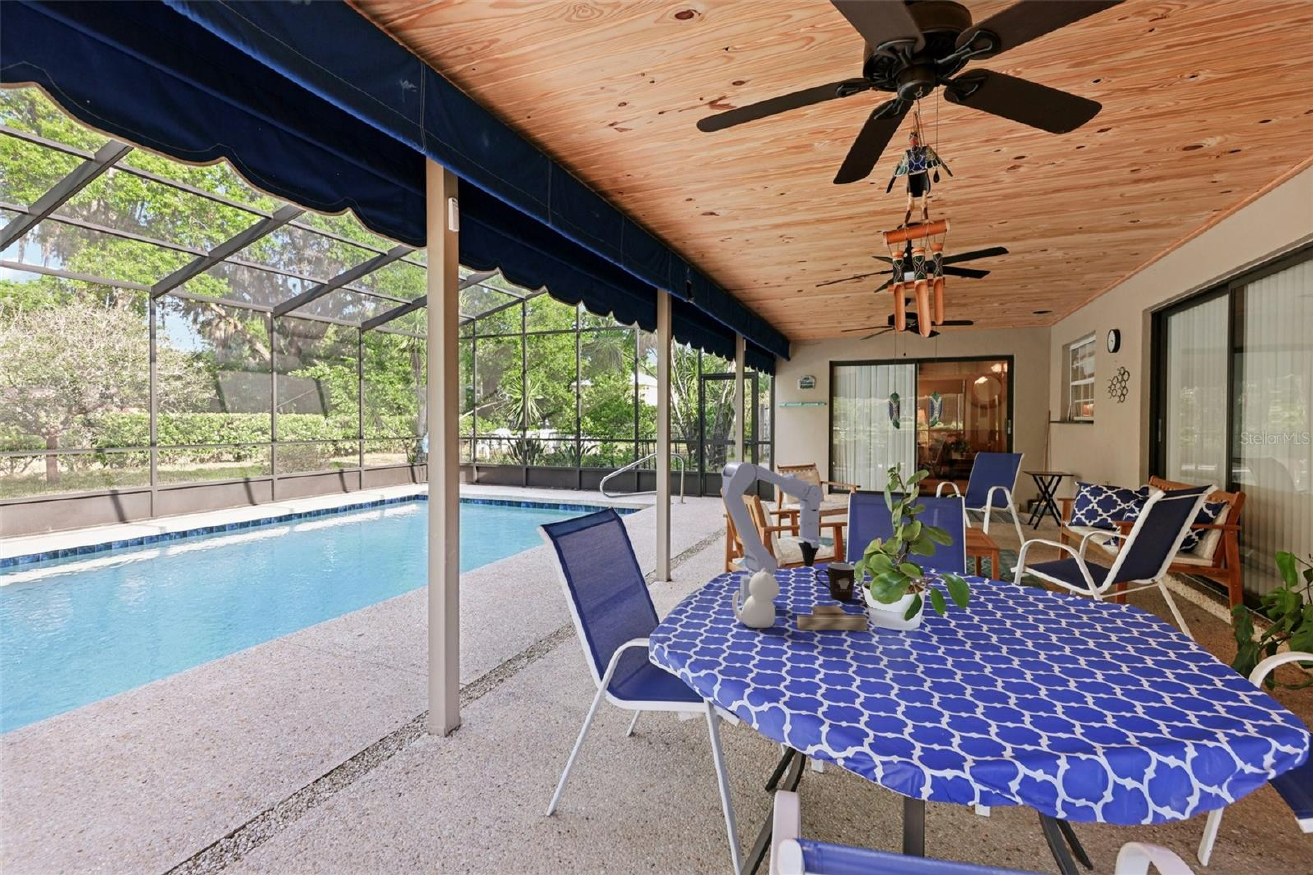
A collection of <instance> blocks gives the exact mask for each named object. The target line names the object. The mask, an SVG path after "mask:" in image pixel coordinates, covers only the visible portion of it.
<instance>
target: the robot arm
mask: <svg viewBox="0 0 1313 875" xmlns="http://www.w3.org/2000/svg"><path fill="white" fill-rule="evenodd" d="M720 475H721V478H722V485H721V486H722V487H721V488H722V490H721V495H722V500H723V501H724V503H725V506H726V508H727V510H728V513H729V515H730V518H731V519H732V522H733V524H734V526H735V529H736V531H737V533H738V536H739V538H740V540H741V542H742V544H743V547H744V549H743V551H742V552H743V555H744V563H745V564H744V565H745V567H746V568H747V570H748V571H747V573H748V574H742V575H740V580H739V582H740V585H739V586H740V587H739V588H740V589H739V590H740V591H739V602H740V603H741V605H742V607H743V606H744V604H745V602H746V600H747V599H748V598H749V597H750V596H751V594H750V591H749V583H750V580H751V578H752V576H753V575H754V574H756V573H758V572H760V571H761V570H762V569H763V568H766V572H767V573H769V574H771V575H772V576H773V577H774V574H775V573H776V572H777V570H778V563H777V562H778V561H777V559H776V558H775V557H773V556H772V555H771V554H770V551H769V549H768V548H767V547H766V546H765V545H764V544H763V541H762V540H761V538H760V535H759V533H758V531H757V529H756V527H755V524H754V522H753V519H752V517H751V515H750V513H749V510H748V508H747V506H746V504H745V501H744V498H743V495H744V493H745V491H746V490H747V489H748V488H749V487H750V486H751V484H752V483H753V482H754V481H758V480H760V481H761V480H762V481H764V482H767V483H770V484H773V485H774V486H778V488H779V491H780V492H781V493H783V494H786V495H788V496H790V497H791V496H792V497H794V498H796V499H797V500H798V501H799V536H798V540H800V541H802V542H798V546H799V548H800V551H801V554H802V558H803V559H802V560H803V564H804V567H806V568H813V565H814V563H815V559H816V554H817V553H818V551H819V549H820V548H821V547H820V541H821V540H823V536H820V534H819V533H820V532H819V531H820V529H819V528H820V526H819V525H820V507H821V502H822V501H823V498H824V495H825V494H824V493H823V490H822V488H820V486H819V485H816V484H812V483H809V482H810V481H809V480H807V479H804V480H803V479H801V478H798V477H797V475H796V474H794V473H790V474H785V475H781V474H778V473H776V472H774V471H772V470H770V469H768V468H765V467H763V466H762V465H757V464H754V463H750V462H741V461H738V460H730V461H728V462H727V463H725V465H724V467H723V469H722V471H721V474H720ZM771 601H772V603H773V605H774V607H775V609H776V608H777V605H776V604H775V603H774V602H773V600H771Z"/></svg>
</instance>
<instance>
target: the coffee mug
mask: <svg viewBox="0 0 1313 875" xmlns="http://www.w3.org/2000/svg"><path fill="white" fill-rule="evenodd" d="M826 566H827V570H825V569H823V568H822V569H821V568H820V569H818V570H816V572H815V579H816V580H817V581H818V582H819V584H821V585H822V586H824V587H825V588H826V589H828V591H829V594H830V599H832V600H835V601H839V600H840V602H841V601H842V602H849V601H852V598H853V592H854V585H855V578H856V576H855V577H854V566H855V565H854V564H849V563H842V562H833V563H828V564H826ZM821 572H824V573H825V574H826V576H827V577H828V585H827V584H825V583H824V582H823V581H821V580H820V579H819V578H818V574H819V573H821Z"/></svg>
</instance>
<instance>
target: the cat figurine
mask: <svg viewBox="0 0 1313 875" xmlns="http://www.w3.org/2000/svg"><path fill="white" fill-rule="evenodd" d="M780 590H781V588H780V584H779V583H778V581H777V579H776V578H775V576H774V575H773V576H772V575H771V574H769V573H767V572H766V568H763V569H762V570H761V571H760V572H758V573H756V574H754V575H753V576H752V578H751V580H750V583H749V591H750V594H751V596H750V597H749V598H748V599H747V600H746V602H745V604H744V606H743V605H742V608H741V613H740V610H739V608H738V607H739V606H738V604H739V603H738V600H739V598H740V591H739V590H738V589H737V590H735V591H734V593H733V595H732V598H731V599H732V600H731V603H732V604H731V605H732V610H733V613H734V615H735V617H736V619H737V620H738V621H739V622H742V623H743V624H744V625H745V626H747V627H749V628H755V629H756V628H757V629H764V628H765V629H767V628H769V629H770V628H771V627H772V626H773V625H774V624H775V622H776V620H775V619H776V608H775V607H774V605H775V604H774V605H773V603H774V602H773V601H774V600H775V599H776V598H777V597H778V596H779V594H780ZM771 600H772V601H771ZM772 602H773V603H772Z"/></svg>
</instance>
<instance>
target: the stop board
mask: <svg viewBox="0 0 1313 875" xmlns="http://www.w3.org/2000/svg"><path fill="white" fill-rule="evenodd" d="M796 617H797V618H796V624H797V625H796V627H797V629H799V631H821V630H822V631H867V630H868V618H867V617H866V615H845V616H813V615H800V614H799V615H797V616H796Z"/></svg>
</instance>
